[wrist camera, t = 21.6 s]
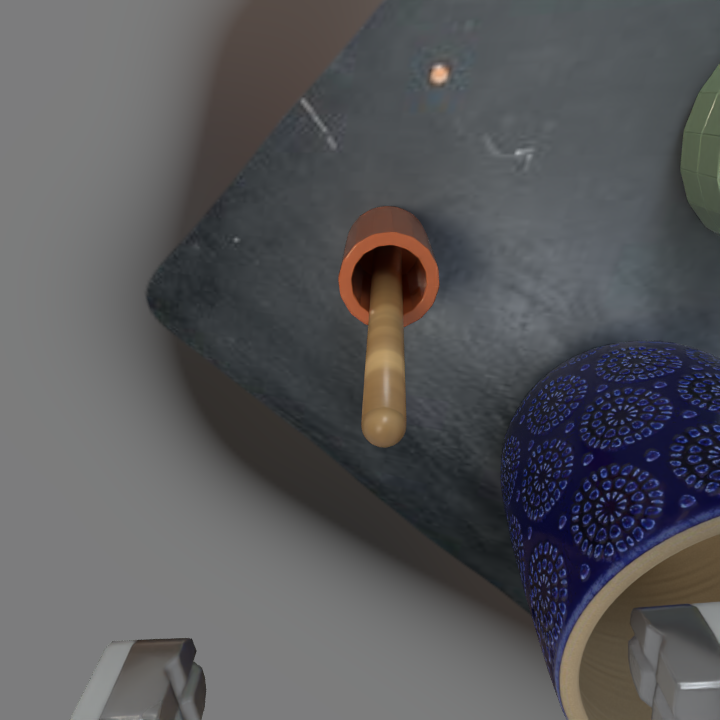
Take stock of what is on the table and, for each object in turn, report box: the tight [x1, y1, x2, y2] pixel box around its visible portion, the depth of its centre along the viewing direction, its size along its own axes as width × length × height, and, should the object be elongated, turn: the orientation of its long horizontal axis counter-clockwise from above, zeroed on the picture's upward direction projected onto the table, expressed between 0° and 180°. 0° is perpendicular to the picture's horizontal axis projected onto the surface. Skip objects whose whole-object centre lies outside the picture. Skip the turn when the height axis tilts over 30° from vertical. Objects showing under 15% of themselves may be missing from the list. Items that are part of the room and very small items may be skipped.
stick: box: [361, 245, 406, 447], centre depth 31 cm, size 2×2×19 cm
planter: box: [501, 341, 720, 720], centre depth 35 cm, size 18×18×21 cm
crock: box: [338, 206, 440, 327], centre depth 36 cm, size 5×5×8 cm
